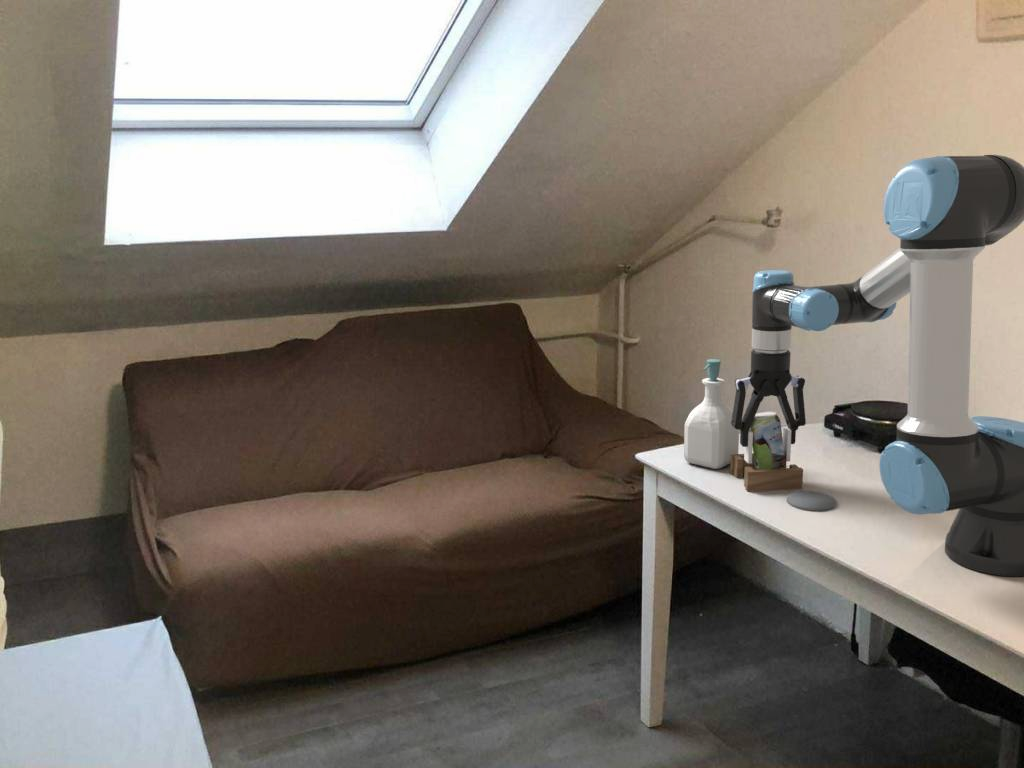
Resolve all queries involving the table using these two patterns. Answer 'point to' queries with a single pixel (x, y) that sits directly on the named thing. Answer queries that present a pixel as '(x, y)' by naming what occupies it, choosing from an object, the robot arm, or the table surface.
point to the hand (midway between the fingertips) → (767, 460)
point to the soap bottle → (710, 426)
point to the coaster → (811, 501)
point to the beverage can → (767, 441)
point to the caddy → (765, 475)
